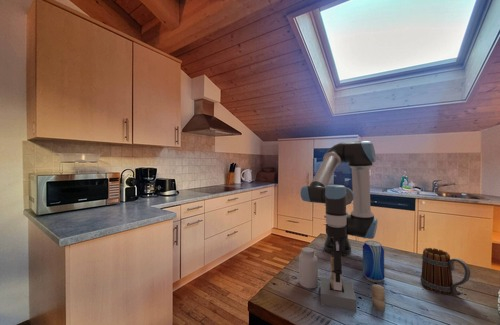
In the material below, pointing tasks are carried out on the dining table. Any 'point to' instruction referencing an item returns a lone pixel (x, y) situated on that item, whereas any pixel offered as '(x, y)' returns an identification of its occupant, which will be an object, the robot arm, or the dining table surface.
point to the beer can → (373, 261)
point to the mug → (441, 272)
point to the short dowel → (378, 297)
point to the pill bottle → (308, 268)
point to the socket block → (338, 295)
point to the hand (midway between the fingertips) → (336, 282)
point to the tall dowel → (333, 275)
